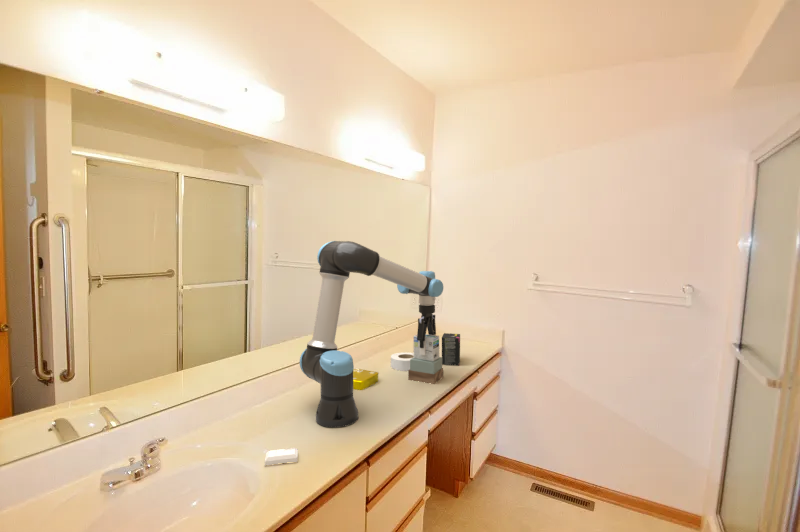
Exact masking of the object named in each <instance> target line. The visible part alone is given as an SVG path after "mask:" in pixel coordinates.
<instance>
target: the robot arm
mask: <svg viewBox="0 0 800 532" xmlns="http://www.w3.org/2000/svg"><path fill="white" fill-rule="evenodd" d="M316 259H317V263H318V264H319V266H320V267H319V271H318V272H319V274H320V276H321V278H322V279H321V286H320V291H319V297H318V302H317V309H316V316H315V321H314V327H313V334H312V339H310V341H308V342H307V345H306V348H305V349H304V350H303V351H302V353H301V355H300V356H299V367H300V368H299V369H301V372H302V373H303V374H304V375H305V376H306V377H308V378H309V379H311V380H313V381H315V382H316V383H319V384H320V399H319V402H318V406H317V409H316V413H315V422H316V423H317V424H319V426H321V427H325V428H343V427H347V426H351V425H352V423H353V424H354V423H355V422H357V421H358V419H359V409H358V408H357V404H356V401H355V398H354V389H353V369H354V368H355V366H354V360H353V356H352V355H351V354H350V353H348V352H346V351H341V350H338V345H337V344H336V342H335V341H336V334H337V329H338V322H339V315H340V309H341V303H342V297H343V292H344V287H345V281H347V280H348V279H350V274H351V273H355V274H361V275H364V276H366V277H369V276H375V277H377V278H380V279H382V280H385V281H388V282H391V283H393V284H396V285H397V290H398V292H399V293H400V294H403V295H405V294H406V295H408V294H413V295H418V303H419V305H418V312H419V314H421V317H420V318H418V319H417V332H416V333H417V334H416V335H417V340H418V341H420V355H426V341H425V335H426V334H427V332H428V334H429V335H437V330H436V329H437V327H436V314H434V313H436V305H435V304H436V298H438V297H440V296H441V295H442V294H443V291H444V283H443V281H441V280H440V279H436V272H434V271H433V270H422V271H421V270H420V271H419V272H417V271H415V270H412V269H410V268H408V267H406V266H403V265H401V264H399V263H396V262H393V261H392V260H390V259H388V258H387V259H386V258H384V257H382V256H381V255H380V253H379V252H377V251H375V250H373V249H370V248H368V247H367V246H364V245H362V244H360V243H357V242H355V241H349V240H346V241H345V240H341V241H340V240H332V241H328V242H326V243H324V244H323V245H322V246H321V247H320V248H319V249H318V253H317V258H316Z"/></svg>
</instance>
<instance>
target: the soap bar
mask: <svg viewBox="0 0 800 532" xmlns="http://www.w3.org/2000/svg"><path fill="white" fill-rule="evenodd" d="M298 452H299V451H298V448H296V447H291V448H290V447H288V448H281V449H274V450H272V449H271V450H268V451H267V452H266V453H265V459H264V467H267V466H266V465H272V464H278V463H287V462H297V461H299V459H298V458H299V455H298V454H299V453H298ZM297 463H298V462H297ZM272 466H273V465H272Z"/></svg>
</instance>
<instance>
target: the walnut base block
mask: <svg viewBox="0 0 800 532" xmlns="http://www.w3.org/2000/svg"><path fill="white" fill-rule="evenodd" d="M407 373H408V374H407V375H408V381H412V380H413V382H418V381H419V383H424V382H425V383H424V384H429V383H431V384H430V385H435V384H437V383H438V382H439V381H440V380H441V378H442V379H443V378H444V367H442V369H440V370H439V371H438V372H436V373H435V374H430V373H424V372H418V371H412V370H408V371H407ZM436 382H437V383H436Z"/></svg>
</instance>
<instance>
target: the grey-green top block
mask: <svg viewBox="0 0 800 532" xmlns="http://www.w3.org/2000/svg"><path fill="white" fill-rule="evenodd" d="M442 368H443V365H442V356H441V357H440V356H439V358H438V359H436V360H435V361H428V360H422V359H416V358H412V359H410V370H412V371H418V372H424V373H430V374H435V373H436V372H438V371H439V370H440V369H442Z"/></svg>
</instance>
